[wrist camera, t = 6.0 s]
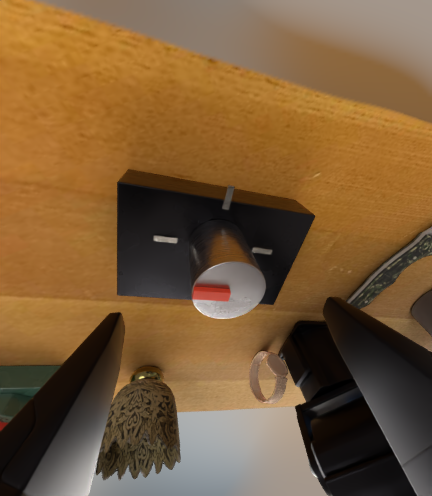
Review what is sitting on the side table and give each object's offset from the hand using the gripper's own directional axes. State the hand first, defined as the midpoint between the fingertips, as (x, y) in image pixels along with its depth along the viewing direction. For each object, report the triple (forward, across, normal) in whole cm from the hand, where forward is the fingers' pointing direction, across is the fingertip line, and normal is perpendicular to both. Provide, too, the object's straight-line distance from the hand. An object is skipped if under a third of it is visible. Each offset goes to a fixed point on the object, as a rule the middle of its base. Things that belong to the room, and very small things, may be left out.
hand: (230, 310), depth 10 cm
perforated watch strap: (+9, -7, +18) cm, 21 cm away
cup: (+9, +6, +19) cm, 22 cm away
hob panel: (+9, 0, +1) cm, 9 cm away
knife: (+8, -22, +2) cm, 24 cm away
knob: (+6, 0, 0) cm, 6 cm away
